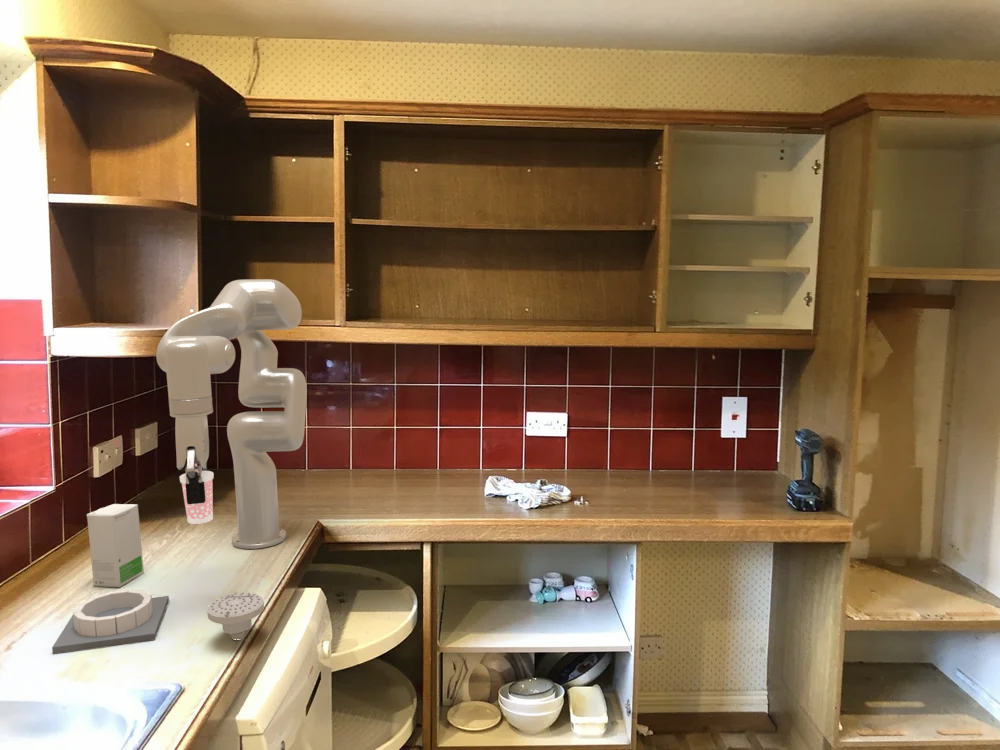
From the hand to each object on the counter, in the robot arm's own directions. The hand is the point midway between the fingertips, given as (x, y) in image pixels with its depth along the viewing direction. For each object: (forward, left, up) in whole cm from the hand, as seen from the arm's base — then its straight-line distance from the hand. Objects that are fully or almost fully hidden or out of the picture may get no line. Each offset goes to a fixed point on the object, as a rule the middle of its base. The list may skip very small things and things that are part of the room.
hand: (198, 496), depth 140 cm
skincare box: (-18, -19, -22) cm, 34 cm away
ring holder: (+5, -15, -21) cm, 27 cm away
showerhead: (+17, +7, -22) cm, 29 cm away
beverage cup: (0, 0, -5) cm, 5 cm away
